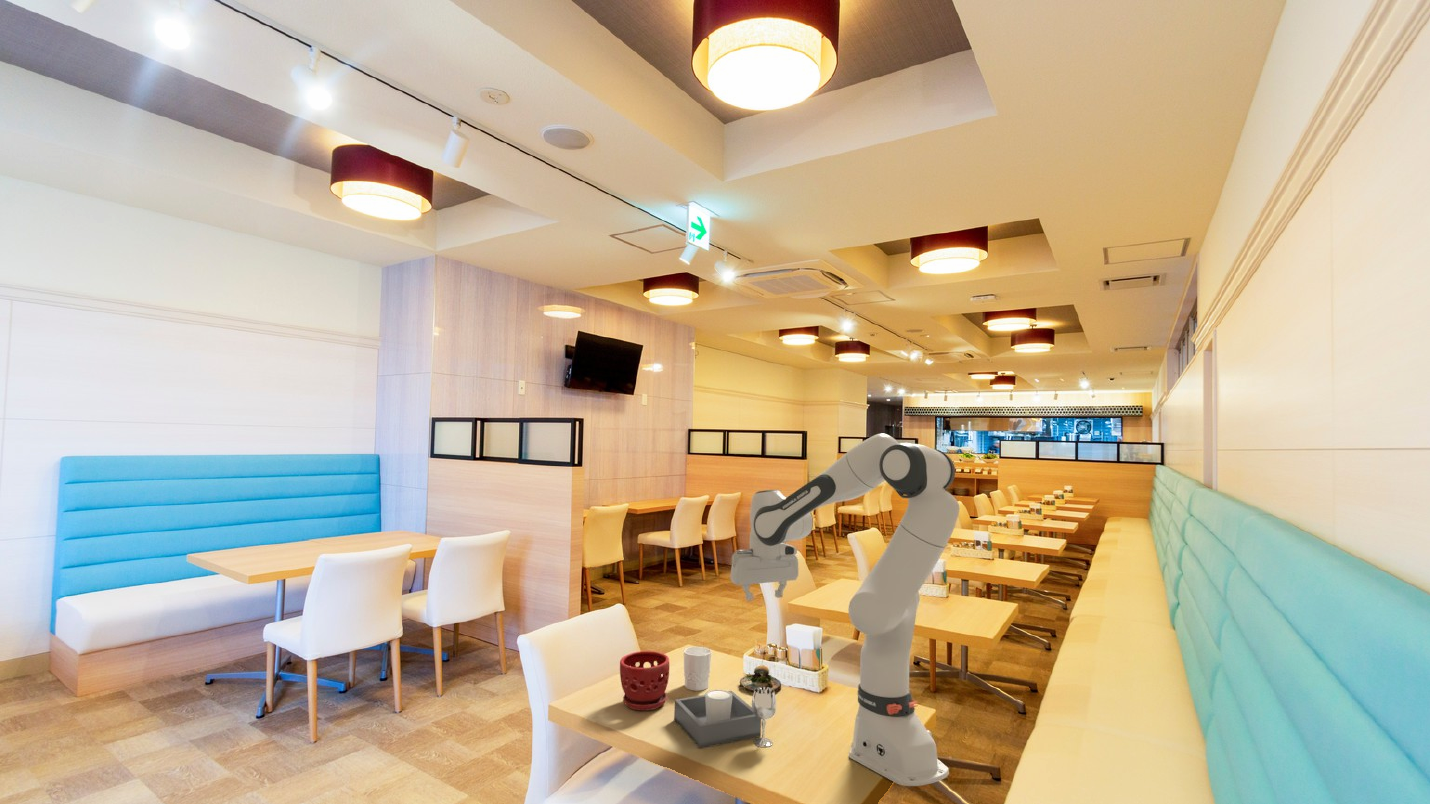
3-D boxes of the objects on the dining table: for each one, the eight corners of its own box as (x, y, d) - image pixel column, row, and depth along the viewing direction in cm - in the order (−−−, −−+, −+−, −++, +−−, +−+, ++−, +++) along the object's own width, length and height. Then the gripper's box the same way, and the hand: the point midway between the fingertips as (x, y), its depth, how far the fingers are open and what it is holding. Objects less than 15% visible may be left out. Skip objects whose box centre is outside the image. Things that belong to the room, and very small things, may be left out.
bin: (760, 736, 156) (761, 715, 156) (699, 748, 149) (700, 726, 149) (730, 710, 170) (731, 690, 170) (674, 719, 163) (674, 699, 164)
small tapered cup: (730, 731, 156) (730, 701, 156) (701, 728, 157) (702, 698, 157) (733, 718, 163) (734, 690, 163) (706, 716, 164) (707, 688, 164)
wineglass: (768, 750, 149) (769, 697, 149) (746, 744, 152) (747, 691, 152) (779, 741, 154) (780, 689, 154) (758, 734, 157) (759, 684, 157)
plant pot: (632, 691, 181) (634, 647, 182) (676, 699, 176) (677, 654, 177) (609, 709, 169) (611, 662, 169) (655, 718, 164) (656, 670, 165)
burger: (731, 689, 185) (732, 662, 185) (753, 677, 195) (753, 651, 195) (768, 699, 178) (768, 672, 179) (788, 686, 188) (789, 660, 188)
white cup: (710, 692, 182) (710, 656, 182) (681, 691, 182) (682, 655, 182) (710, 681, 190) (711, 646, 190) (683, 680, 190) (684, 646, 190)
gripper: (737, 552, 173) (736, 604, 172) (802, 548, 182) (801, 598, 181) (726, 548, 178) (725, 599, 178) (789, 544, 187) (788, 592, 187)
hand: (764, 598), depth 179 cm, fingers open, 8 cm apart
